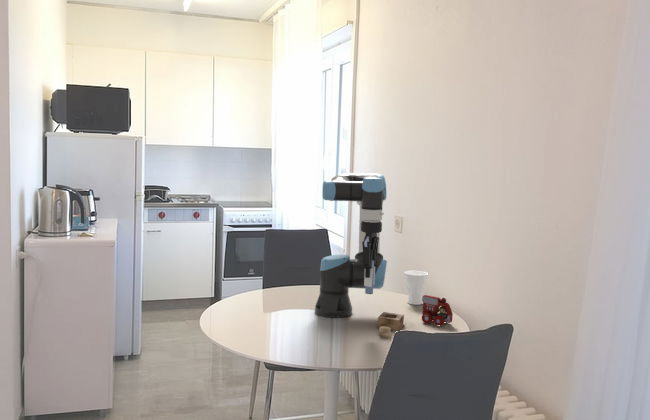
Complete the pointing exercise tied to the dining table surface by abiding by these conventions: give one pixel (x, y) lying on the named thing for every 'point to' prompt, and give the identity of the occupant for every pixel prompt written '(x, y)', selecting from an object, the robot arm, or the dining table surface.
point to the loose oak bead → (384, 332)
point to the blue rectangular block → (370, 289)
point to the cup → (415, 285)
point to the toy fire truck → (436, 310)
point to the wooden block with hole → (391, 320)
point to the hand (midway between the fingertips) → (369, 285)
